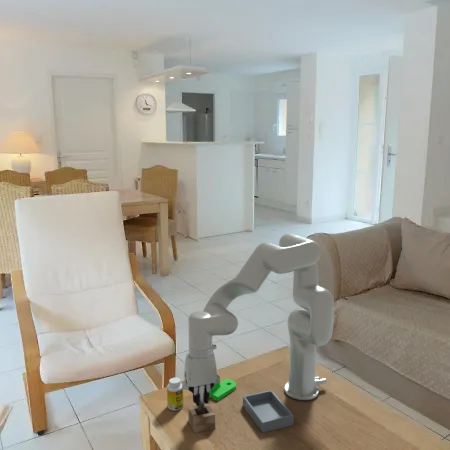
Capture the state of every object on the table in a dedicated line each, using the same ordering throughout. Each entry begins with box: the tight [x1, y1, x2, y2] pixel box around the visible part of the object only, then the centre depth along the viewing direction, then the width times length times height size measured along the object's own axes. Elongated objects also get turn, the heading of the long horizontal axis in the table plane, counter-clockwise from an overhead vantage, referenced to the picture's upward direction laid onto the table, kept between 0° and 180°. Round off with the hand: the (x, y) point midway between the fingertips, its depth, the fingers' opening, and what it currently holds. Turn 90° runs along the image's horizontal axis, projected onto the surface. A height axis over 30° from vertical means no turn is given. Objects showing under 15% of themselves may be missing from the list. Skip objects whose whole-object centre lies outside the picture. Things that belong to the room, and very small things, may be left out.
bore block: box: [187, 402, 216, 434], centre depth 152 cm, size 7×7×5 cm
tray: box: [242, 389, 294, 433], centre depth 157 cm, size 11×16×4 cm
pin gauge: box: [196, 385, 205, 411], centre depth 150 cm, size 2×2×10 cm
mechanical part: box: [209, 374, 237, 402], centre depth 171 cm, size 12×6×8 cm, turn 138°
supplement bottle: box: [166, 377, 184, 412], centre depth 161 cm, size 6×6×10 cm
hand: (201, 402), depth 150 cm, fingers closed on pin gauge, 2 cm apart
